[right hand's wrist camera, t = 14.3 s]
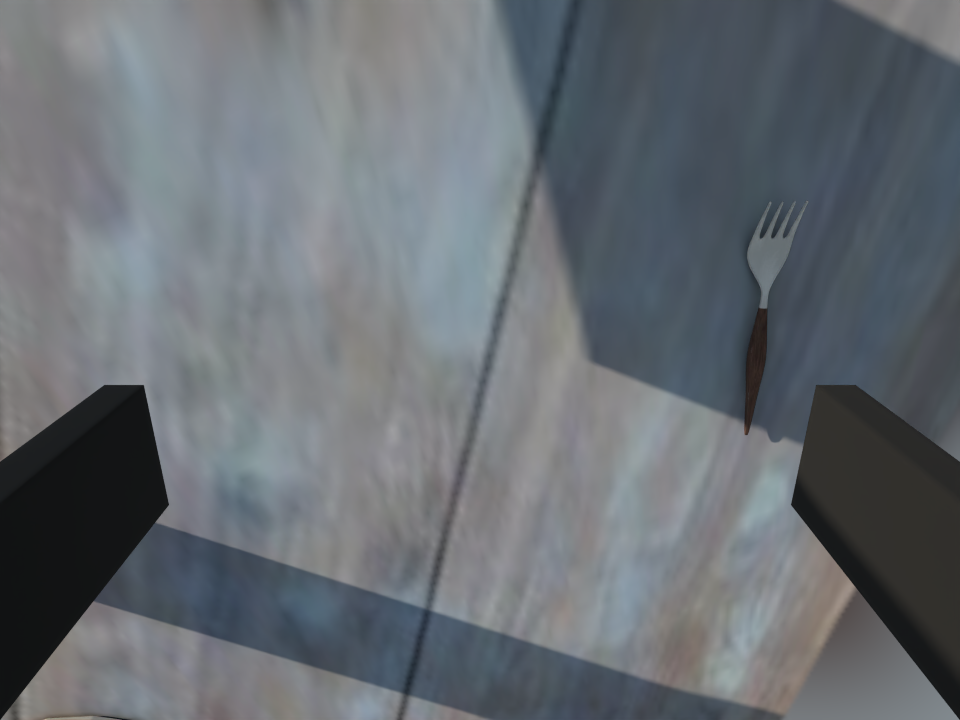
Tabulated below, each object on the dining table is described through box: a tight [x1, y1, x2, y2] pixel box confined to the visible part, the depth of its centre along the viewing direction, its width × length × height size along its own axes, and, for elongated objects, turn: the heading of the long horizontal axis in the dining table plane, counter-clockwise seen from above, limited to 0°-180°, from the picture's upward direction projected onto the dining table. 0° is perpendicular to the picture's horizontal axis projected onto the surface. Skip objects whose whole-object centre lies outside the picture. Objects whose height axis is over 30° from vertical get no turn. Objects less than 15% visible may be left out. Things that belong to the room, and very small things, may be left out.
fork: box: [744, 200, 808, 435], centre depth 41 cm, size 3×16×2 cm, turn 2°
